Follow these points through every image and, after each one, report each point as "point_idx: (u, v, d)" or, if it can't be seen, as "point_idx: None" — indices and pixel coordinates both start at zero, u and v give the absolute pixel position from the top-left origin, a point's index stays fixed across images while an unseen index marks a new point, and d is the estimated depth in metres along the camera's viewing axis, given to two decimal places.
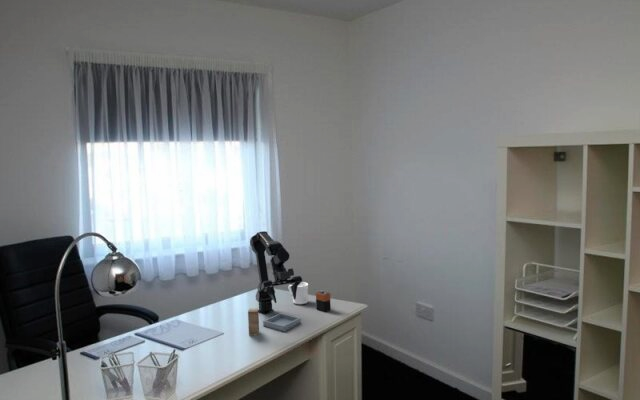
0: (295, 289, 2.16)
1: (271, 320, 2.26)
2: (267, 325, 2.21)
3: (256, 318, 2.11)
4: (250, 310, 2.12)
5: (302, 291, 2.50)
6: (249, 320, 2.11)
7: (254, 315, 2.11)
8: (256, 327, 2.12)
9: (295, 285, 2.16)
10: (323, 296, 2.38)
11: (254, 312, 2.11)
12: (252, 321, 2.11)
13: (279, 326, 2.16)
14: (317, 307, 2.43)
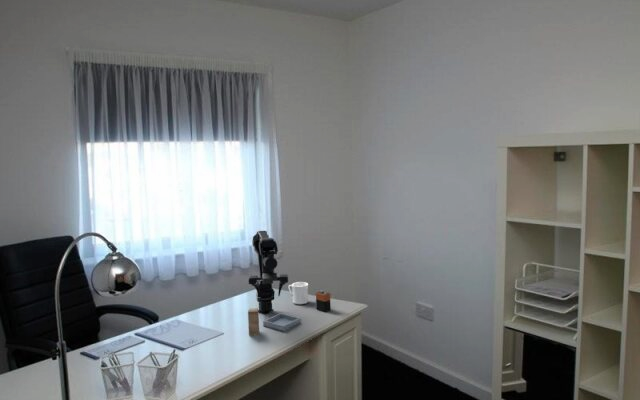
0: (280, 288, 2.24)
1: (271, 320, 2.26)
2: (267, 325, 2.21)
3: (256, 318, 2.11)
4: (250, 310, 2.12)
5: (302, 291, 2.50)
6: (249, 320, 2.11)
7: (254, 315, 2.11)
8: (256, 327, 2.12)
9: (280, 285, 2.23)
10: (323, 296, 2.38)
11: (254, 312, 2.11)
12: (252, 321, 2.11)
13: (279, 326, 2.16)
14: (317, 307, 2.43)
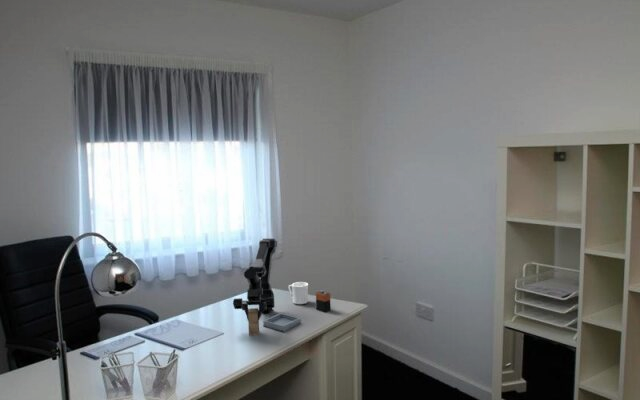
0: (260, 310, 2.14)
1: (271, 320, 2.26)
2: (267, 325, 2.21)
3: (256, 318, 2.11)
4: (250, 310, 2.12)
5: (302, 291, 2.50)
6: (249, 320, 2.11)
7: (254, 315, 2.11)
8: (256, 327, 2.12)
9: (260, 306, 2.14)
10: (323, 296, 2.38)
11: (254, 312, 2.11)
12: (252, 321, 2.11)
13: (279, 326, 2.16)
14: (317, 307, 2.43)
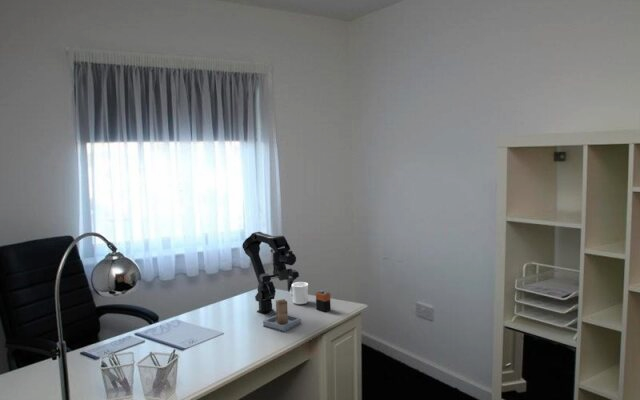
0: (290, 283, 2.31)
1: (271, 320, 2.26)
2: (267, 325, 2.21)
3: (286, 308, 2.22)
4: (279, 301, 2.22)
5: (302, 291, 2.50)
6: (279, 311, 2.20)
7: (284, 305, 2.21)
8: (286, 317, 2.22)
9: (291, 280, 2.30)
10: (323, 296, 2.38)
11: (284, 302, 2.21)
12: (282, 312, 2.21)
13: (279, 326, 2.16)
14: (317, 307, 2.43)
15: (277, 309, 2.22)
